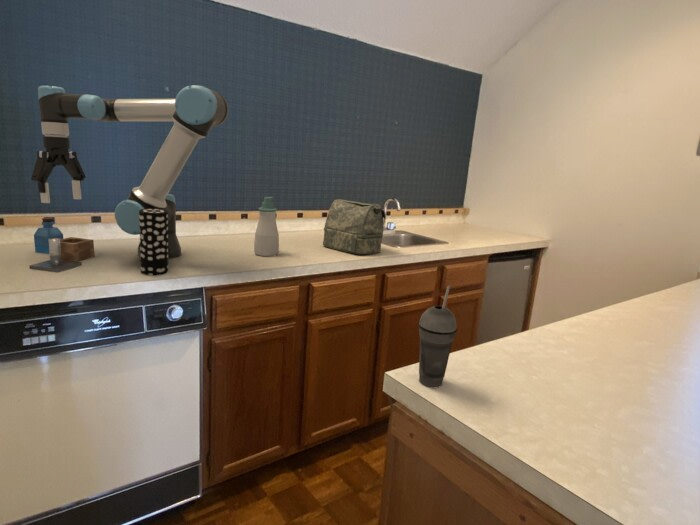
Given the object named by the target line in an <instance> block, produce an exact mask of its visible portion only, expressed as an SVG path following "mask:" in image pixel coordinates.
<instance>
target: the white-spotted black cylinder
mask: <svg viewBox="0 0 700 525" xmlns="http://www.w3.org/2000/svg"><path fill="white" fill-rule="evenodd" d="M139 226H140V234H139V243H140V256H139V259H140V262H139V263H140V273H141V274H143V275H145V276H163V275H165V274H168V273H169V258H168V211H167V210H163V209H141V210H139Z"/></svg>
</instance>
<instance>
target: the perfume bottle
mask: <svg viewBox="0 0 700 525" xmlns="http://www.w3.org/2000/svg"><path fill="white" fill-rule="evenodd" d="M41 219H42V221H41V225H42V226H41V227H38V228H37V229H36V231H35V232H34V234H33V241H34V242H33V243H34V252H35V253H38V254H46V255H50V251H49V239H52V238H58V239H64V234H63V232H62V231H61V230H60V229H59V228H58V227H56V226H53V225H54V221H53V217H43V218H41Z"/></svg>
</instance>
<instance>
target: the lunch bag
mask: <svg viewBox="0 0 700 525" xmlns="http://www.w3.org/2000/svg"><path fill="white" fill-rule="evenodd" d="M385 219H387V218H386V213H385V210H384V209H383V208H382V206H381V205H380V204H376V203H365V202H359V201H353V200H348V199H347V200H346V199H342V198H339V199H338V198H337V199H334V201H332V203H331V204H330V207H329V210H328V213H327V216H326V219H325V222H324V227H323V230H324V231H323V241H322V245H323V246H324V247H326V248H329V249H334V250H337V251H341V252H345V253H348V254H354V255H359V256H361V255H362V256H363V255H371V254H379V253H380V252H381V249H382V241H383V235H384V223H385V222H384V220H385Z"/></svg>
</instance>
